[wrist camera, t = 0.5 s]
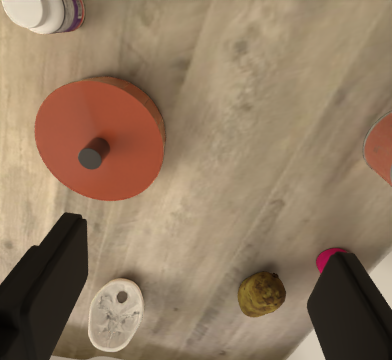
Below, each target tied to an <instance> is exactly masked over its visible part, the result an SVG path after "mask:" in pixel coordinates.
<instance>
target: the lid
mask: <svg viewBox="0 0 392 360" xmlns="http://www.w3.org/2000/svg"><path fill="white" fill-rule="evenodd" d="M35 140H36V145H37V148H38V151H39V154H40V156H41V158H42V160H43V162H44V163H45V165H46V166H47V168H48V169H49V170H50V172H51V173H52V174H53V175H54V176H55V177H56V178H57V179H58V180H59V181H60V182H61V183H63V184H64V185H65V186H67V187H68V188H70V189H71V190H73V191H75V192H77V193H79V194H81V195H83V196H86V197H89V198H93V199H97V200H104V201H117V200H124V199H127V198H131V197H133V196H136V195H138V194H139V193H141V192H143V191H144V190H145V189H147V188H148V187H149V186H150V185H151V184H152V183H153V181H154V180H155V179H156V177H157V175H158V173H159V171H160V169H161V166H162V162H163V156H164V145H163V138H162V134H161V131H160V129H159V126H158V124H157V122H156V120H155V118H154V117H153V115H152V114H151V112H150V111H149V110H148V108H147V107H146V106H145V105H144V104H143V103H142V102H141V101H140V100H139V99H137V98H136V97H135V96H134V95H132V94H131V93H129V92H128V91H126V90H124V89H122V88H120V87H118V86H116V85H113V84H110V83H106V82H102V81H94V80H82V81H76V82H72V83H69V84H66V85H63V86H62V87H60V88H58V89H56V90H55V91H53V92H52V93H51V94H50V95H49V96H48V97H47V98H46V99H45V100H44V102H43V103H42V105H41V106H40V108H39V111H38V113H37V116H36V121H35Z"/></svg>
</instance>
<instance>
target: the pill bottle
mask: <svg viewBox="0 0 392 360" xmlns="http://www.w3.org/2000/svg"><path fill="white" fill-rule="evenodd" d="M2 4H3V8H4V10H5V12H6V14H7V15H8V16H9V18H10V19H11V20H12V21H13V22H14V23H16V24H17V25H19V26H21V27H25V28H28V29H29V30H31V31H33V32H35V33H39V34H51V33H60V32H70V31H74V30H76V29H78V28H79V27H80V26H81V24H82V23H83V21H84V17H85V8H84V4H83V1H82V0H2Z"/></svg>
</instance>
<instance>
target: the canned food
mask: <svg viewBox="0 0 392 360" xmlns="http://www.w3.org/2000/svg"><path fill="white" fill-rule="evenodd" d="M363 156H364V159H365V162H366V163H367V165H368V166H369V167H370V168H371V169H373V170H374V171H376V172H377V173H378V174H379V175H380V176H381V177H382V178H383V179H384V180H385V181H387V182H388V183H389V184H390V185H391V186H392V111H391V112H389V113H387V114H386V115H384V116H383V117H381V118H380V119H379V120H378V121H377V122H376V123H375V124H374V125H373V126H372V128H371V129H370V131H369V132H368V134H367V136H366V138H365V141H364V145H363Z"/></svg>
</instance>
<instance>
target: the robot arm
mask: <svg viewBox="0 0 392 360" xmlns="http://www.w3.org/2000/svg"><path fill="white" fill-rule="evenodd" d="M87 276H88V246H87V221H86V219H82V215H80V214H74V213H67V212H65V213H64V214H63V215H62V216H61V217H60V219H59V220H58V221H57V223H56V224H55V225H54V226H53V228H52V229H51V230H50V232H49V233H48V234H47V236H46V237H45V238H44V240H43V241H42V242H41V243H40V245H39V246H36V245H34V246H32V247H31V248H30V249H29V250H28V251H27V252H26V253H25V255H24V256H23V257H22V258H21V260H20V261H19V262H18V263H17V265H16V266H15V267H14V268H13V270H12V271H11V272H10V273H9V275H8V276H7V277H6V278H5V280H4V281H3V282H2V283H1V285H0V360H49V359H50V357H51V355H52V353H53V350H54V348H55V346H56V344H57V342H58V340H59V338H60V336H61V333H62V331H63V329H64V327H65V325H66V323H67V321H68V319H69V316H70V314H71V312H72V310H73V308H74V306H75V304H76V302H77V299H78V297H79V295H80V293H81V291H82V289H83V287H84V285H85V282H86V280H87ZM307 309H308V313H309V315H310V318H311V321H312V324H313V326H314V329H315V332H316V334H317V337H318V340H319V343H320V346H321V348H322V351H323V354H324V356H325V359H326V360H392V309H391V308H390V306H389V305H388V303H387V302H386V300H385V299H384V297H383V296H382V294H381V293H380V291H379V290H378V288H377V287H376V285H375V284H374V282H373V281H372V279H371V278H370V276H369V275H368V273H367V272H366V270H365V269H364V267H363V266H362V264H361V263H360V261H359V260H358V258H357V257H356V255H355V254H353V253H348V252H341V251H337V252H335V254H332V255H331V256H330V257H329V259H328V261H327V263H326V265H325V267H324V269H323V271H322V273H321V275H320V277H319V279H318V281H317V283H316V285H315V287H314V289H313V291H312V293H311V295H310V297H309V299H308V302H307Z"/></svg>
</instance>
